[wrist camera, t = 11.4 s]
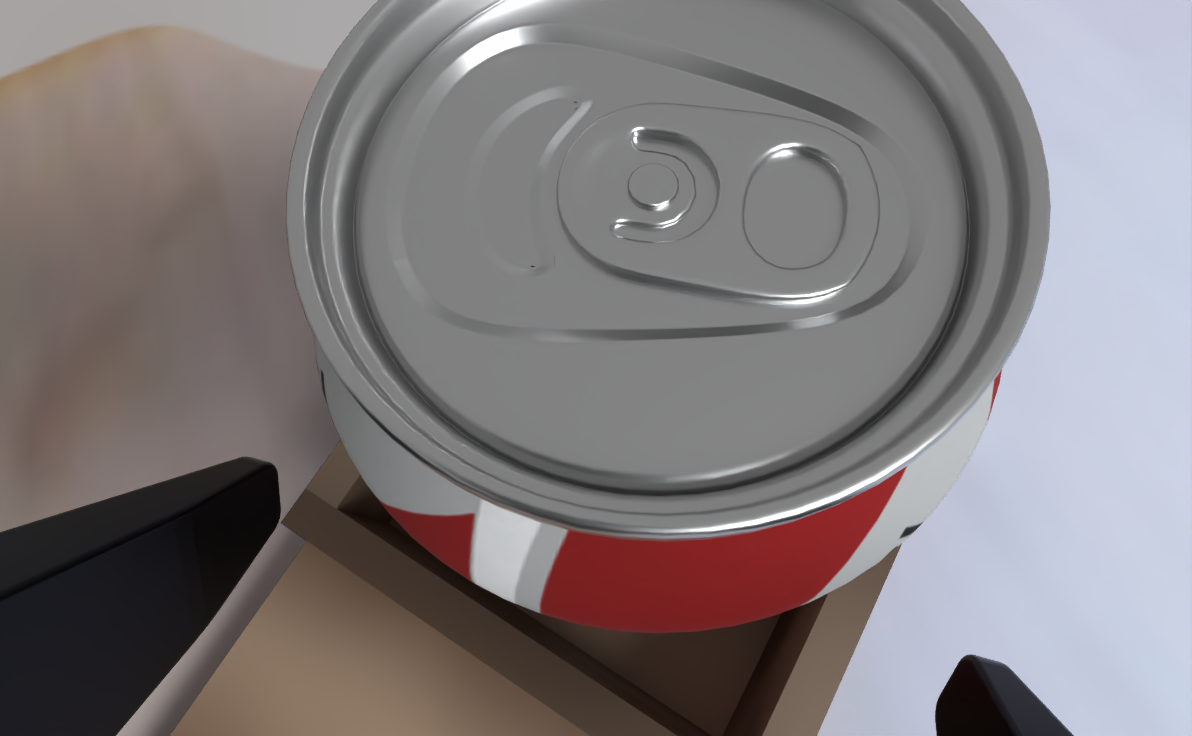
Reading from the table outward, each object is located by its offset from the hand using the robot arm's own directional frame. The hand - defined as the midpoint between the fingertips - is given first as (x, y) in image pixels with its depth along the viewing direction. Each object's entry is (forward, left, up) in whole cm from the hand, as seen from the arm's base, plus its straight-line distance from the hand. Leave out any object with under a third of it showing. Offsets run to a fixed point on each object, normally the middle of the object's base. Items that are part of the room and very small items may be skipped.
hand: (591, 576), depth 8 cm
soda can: (+3, +1, -7) cm, 8 cm away
